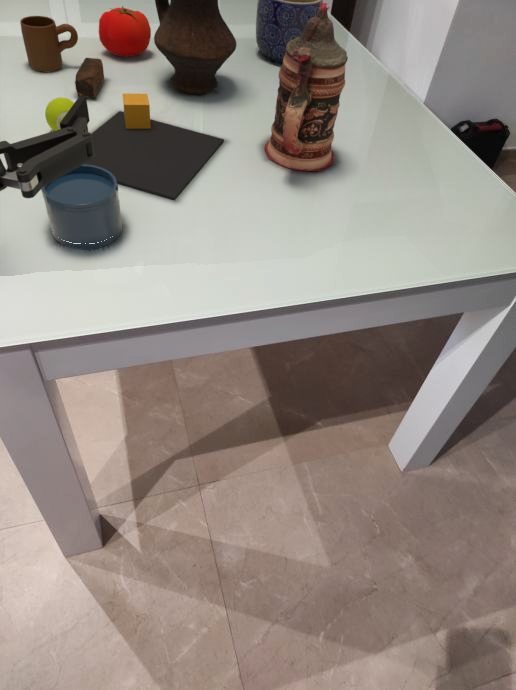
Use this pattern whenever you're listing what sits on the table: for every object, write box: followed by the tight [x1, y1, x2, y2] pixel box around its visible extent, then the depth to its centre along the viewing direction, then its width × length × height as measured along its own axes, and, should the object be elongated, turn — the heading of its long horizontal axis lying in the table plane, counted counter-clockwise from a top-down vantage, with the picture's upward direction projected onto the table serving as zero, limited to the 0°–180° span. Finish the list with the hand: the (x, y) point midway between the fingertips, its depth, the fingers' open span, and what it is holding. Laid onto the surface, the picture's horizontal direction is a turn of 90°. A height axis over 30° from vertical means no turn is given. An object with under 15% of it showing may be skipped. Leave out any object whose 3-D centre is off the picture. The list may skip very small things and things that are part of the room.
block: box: [122, 92, 151, 129], centre depth 105 cm, size 5×5×5 cm
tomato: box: [98, 5, 152, 58], centre depth 127 cm, size 11×13×10 cm
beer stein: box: [264, 2, 349, 172], centre depth 97 cm, size 17×28×18 cm
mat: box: [85, 110, 225, 201], centre depth 100 cm, size 24×24×1 cm
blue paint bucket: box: [40, 164, 123, 250], centre depth 81 cm, size 11×11×8 cm
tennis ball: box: [44, 97, 75, 131], centre depth 100 cm, size 7×7×7 cm
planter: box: [255, 0, 324, 64], centre depth 135 cm, size 16×16×15 cm
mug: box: [19, 15, 79, 73], centre depth 118 cm, size 12×8×9 cm, turn 100°
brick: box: [74, 57, 105, 99], centre depth 114 cm, size 11×4×5 cm, turn 179°
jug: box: [153, 0, 237, 95], centre depth 112 cm, size 21×18×30 cm
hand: (24, 99), depth 58 cm, fingers open, 13 cm apart
